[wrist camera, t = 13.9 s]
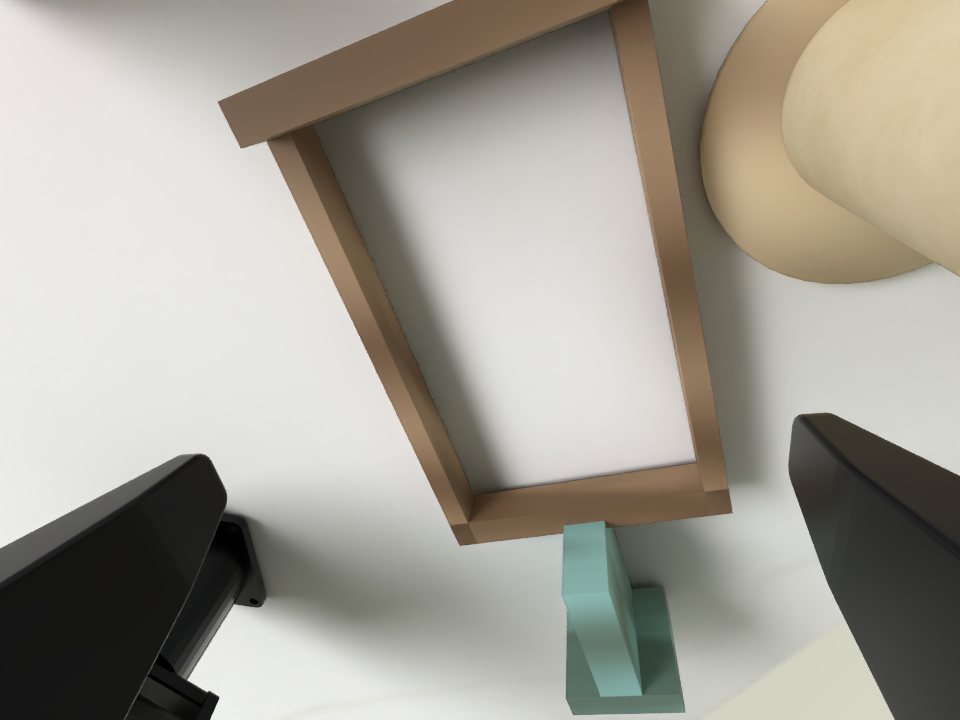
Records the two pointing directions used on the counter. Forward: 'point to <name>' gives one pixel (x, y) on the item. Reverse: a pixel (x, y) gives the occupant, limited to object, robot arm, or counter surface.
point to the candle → (884, 119)
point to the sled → (473, 518)
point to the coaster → (782, 163)
